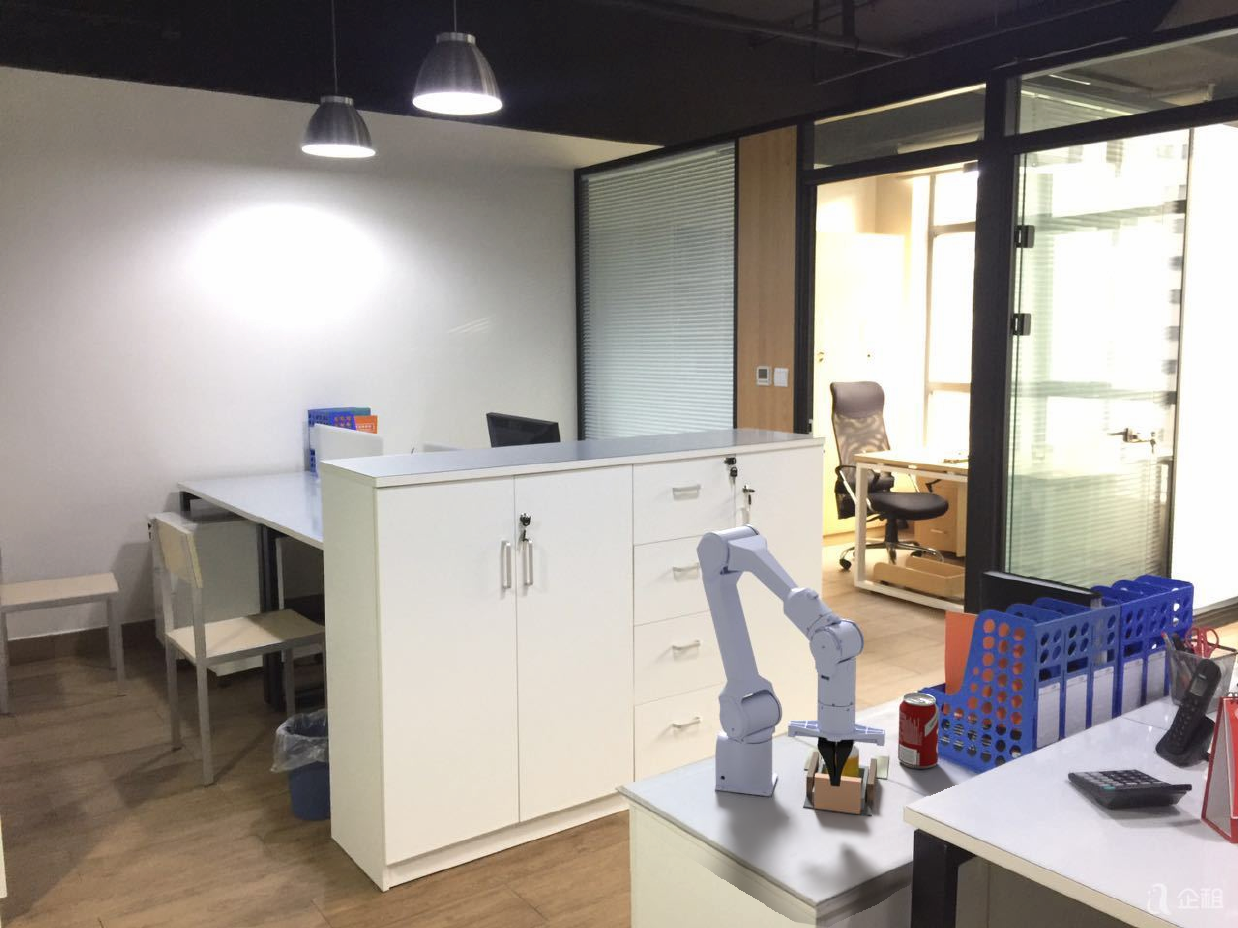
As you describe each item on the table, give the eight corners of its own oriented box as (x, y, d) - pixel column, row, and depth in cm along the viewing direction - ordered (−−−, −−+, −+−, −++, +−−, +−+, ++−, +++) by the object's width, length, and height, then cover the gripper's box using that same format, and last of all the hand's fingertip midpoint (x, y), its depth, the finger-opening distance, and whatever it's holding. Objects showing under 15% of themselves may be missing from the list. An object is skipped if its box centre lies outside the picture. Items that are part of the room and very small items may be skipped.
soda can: (915, 774, 176) (916, 708, 174) (890, 759, 182) (891, 695, 181) (945, 766, 179) (947, 701, 177) (920, 752, 185) (921, 688, 183)
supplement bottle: (822, 791, 170) (823, 737, 169) (829, 778, 175) (830, 725, 174) (854, 797, 168) (855, 742, 167) (861, 783, 173) (862, 730, 172)
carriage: (811, 807, 164) (811, 776, 164) (820, 771, 177) (820, 742, 176) (863, 814, 162) (863, 782, 161) (868, 777, 175) (869, 747, 174)
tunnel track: (793, 805, 166) (793, 785, 165) (810, 748, 187) (810, 730, 187) (882, 817, 161) (882, 796, 161) (888, 757, 183) (889, 738, 182)
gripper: (785, 704, 155) (785, 789, 157) (883, 713, 151) (882, 800, 153) (791, 688, 162) (791, 769, 164) (886, 696, 157) (884, 780, 159)
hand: (835, 783), depth 159 cm, fingers closed
